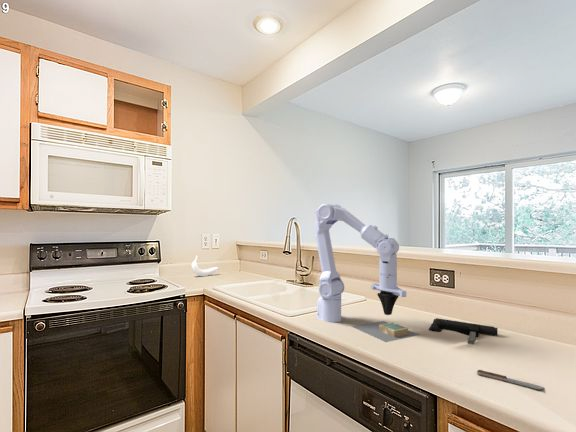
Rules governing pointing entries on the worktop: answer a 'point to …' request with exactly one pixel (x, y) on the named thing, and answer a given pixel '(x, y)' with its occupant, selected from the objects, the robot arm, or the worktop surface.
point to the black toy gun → (463, 328)
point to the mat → (374, 331)
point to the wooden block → (393, 329)
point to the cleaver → (506, 379)
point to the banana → (200, 271)
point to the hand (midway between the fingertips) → (387, 314)
